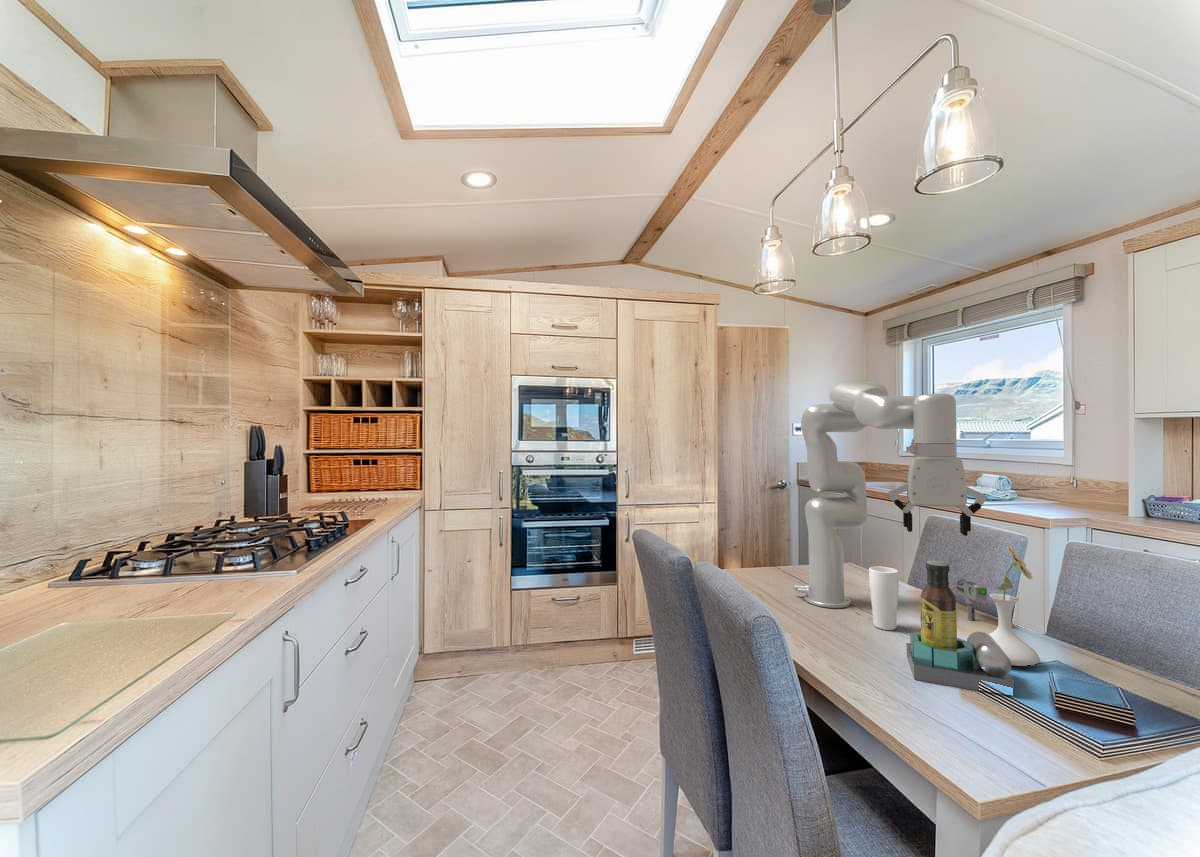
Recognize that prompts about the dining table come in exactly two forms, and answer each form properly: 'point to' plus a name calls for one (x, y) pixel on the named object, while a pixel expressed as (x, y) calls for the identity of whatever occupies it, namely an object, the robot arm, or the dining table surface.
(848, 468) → the robot arm
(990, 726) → the dining table surface
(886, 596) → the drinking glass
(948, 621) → the sauce bottle
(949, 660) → the base
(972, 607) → the mechanical component
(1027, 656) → the flower in vase
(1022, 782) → the dining table surface
